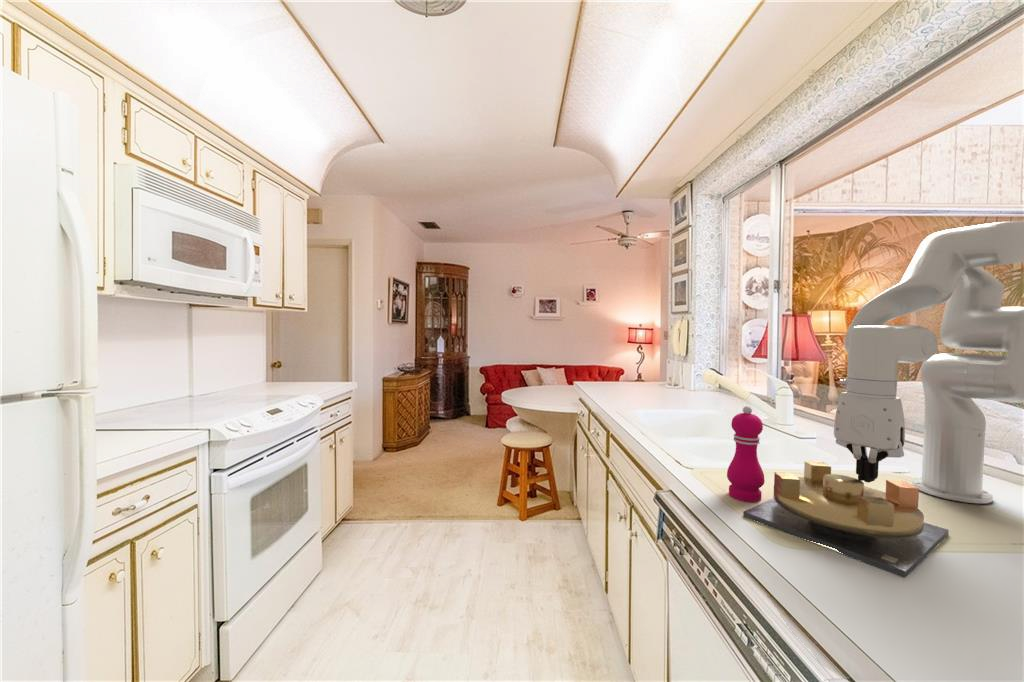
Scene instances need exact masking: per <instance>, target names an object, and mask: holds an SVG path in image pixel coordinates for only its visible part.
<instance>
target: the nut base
mask: <svg viewBox="0 0 1024 682" xmlns="http://www.w3.org/2000/svg"><path fill="white" fill-rule="evenodd" d="M742 513H743V517H744V518H746V519H749V520H751V519H752V520H751V521H754V520H755V521H754V522H757V521H758V522H757V523H759V522H760V523H759V524H762V523H763V524H762V525H764V526H767V525H768V526H767V527H770V528H772V527H773V529H775V530H778V531H780V530H781V531H780V532H783V531H784V533H785V534H788V533H789V534H788V535H790V536H793V535H794V536H793V537H796V536H797V537H796V538H799V537H800V538H799V539H801V538H803V539H802V540H804V539H806V540H805V541H807V540H809V541H813V542H816V543H820V544H823V545H826V546H829V547H832V548H835V549H837V550H838V551H839V552H841V553H843V554H845V555H844V556H846V555H848V556H847V557H849V556H850V557H849V558H851V557H853V558H852V559H854V558H855V559H854V560H856V559H857V560H856V561H859V560H860V561H859V562H862V563H865V564H867V565H870V566H873V567H874V568H878V569H880V570H882V571H885V572H889V573H891V574H893V575H896V576H899V577H901V578H904V579H905V578H907V577H908V576H909V575H910V574H911V573H912V572H913V571H914V570H916V568H917V567H918V566H919V565H920V564H921V563H922V562H923V561H925V559H926V558H927V557H928V556H929V555H930V554H931V553H932V552H933V551H934V550H935V549H936V548H937V547H938V546H939V545H940V544H941V543H942V542H943V541H944V540H945V539H946V538H947V537H948V536H949V529H947V528H945V527H944V528H943V527H940V526H938V525H933V524H930V523H926V522H924V528H923V532H922V533H921V534H919V535H917V536H913V537H908V538H882V537H873V536H866V535H859V534H854V533H849V532H845V531H841V530H837V529H833V528H830V527H826V526H823V525H820V524H817V523H814V522H811V521H809V520H806V519H804V518H801V517H799V516H797V515H795V514H793V513H791V512H789V511H787V510H786V509H784V508H783V507H781V506H780V505H779V504H778V503H777V502H776V501H775V499H774V497H773V498H771V499H768V500H766V501H764V502H762V503H759V504H757V505H754V506H753V507H750V508H748V509H746V510H744V511H743V512H742ZM944 538H945V539H944ZM943 539H944V540H943ZM942 540H943V541H942ZM809 541H808V542H809ZM941 541H942V542H941ZM940 542H941V543H940ZM939 543H940V544H939ZM938 544H939V545H938ZM937 545H938V546H937ZM936 546H937V547H936ZM935 547H936V548H935ZM934 548H935V549H934ZM933 549H934V550H933ZM932 550H933V551H932ZM931 551H932V552H931ZM930 552H931V553H930ZM841 553H840V554H841ZM929 553H930V554H929ZM843 554H842V555H843ZM928 554H929V555H928ZM927 555H928V556H927Z"/></svg>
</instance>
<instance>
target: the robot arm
mask: <svg viewBox="0 0 1024 682" xmlns="http://www.w3.org/2000/svg"><path fill="white" fill-rule="evenodd" d="M1020 263H1024V220H1015V221H1001V222H1000V221H999V222H991V223H990V222H989V223H983V224H977V225H970V226H963V227H957V228H951V229H950V228H949V229H945V230H941V231H937V232H933V233H932V234H930V235H928V236H926V238H925V239H923V241H922V242H921V243H920V244H919V247H918V248H917V250H916V252H915V254H914V256H913V258H912V260H911V262H910V263H909V265H908V266H907V269H906V270H905V272H904V274H903V276H902V278H901V280H900V281H899V283H897V284H896V285H893V286H892V287H890V288H888V289H885V290H884V291H883V292H881V293H879V294H878V295H876V296H875V297H873V298H871V300H869V301H868V302H866V303H864V305H863V306H862V307H860V308H859V309H858V311H857V313H856V314H855V316H854V317H853V318H852V321H851V323H850V324H849V327H848V328H847V331H846V333H845V336H844V342H843V343H844V348H845V351H846V353H847V369H846V371H847V372H846V377H845V378H844V379H843V378H841V379H840V380H838V384H839V386H840V387H841V386H842V387H845V388H844V389H845V391H842V392H841V393H840V394H839V395H840V396H839V398H838V403H837V406H836V411H835V415H834V424H833V425H834V426H833V436H834V438H835V444H837V445H838V446H842V447H843V448H846V449H847V450H848V451H850V453H851V454H852V455H853V458H854V459H855V460H856V463H855V465H856V466H855V474H856V475H857V479H858V480H860V481H862V482H863V481H864V482H865V483H869V484H870V483H871V482H874V481H876V479H878V477H879V462H881V461H883V460H885V459H887V458H899V459H900V458H902V457H903V458H904V457H905V453H904V448H903V447H904V445H905V442H906V441H905V440H906V427H905V425H906V424H905V415H904V408H903V404H902V400H901V397H898V396H897V389H898V374H899V373H898V370H899V363H902V364H903V363H904V364H918V363H919V364H920V363H922V364H921V367H920V379H921V383H922V388H923V396H924V421H923V425H924V426H923V442H922V443H923V444H922V461H921V464H922V465H921V477H916V478H914V479H912V484H911V485H913V486H915V487H917V488H919V492H920V491H921V492H923V493H925V494H928V495H930V496H934V497H937V498H941V499H945V500H950V501H951V500H952V501H956V502H959V503H967V504H979V505H980V504H989V503H992V502H993V494H992V493H990V492H988V491H987V490H984V489H983V484H984V483H983V479H984V459H985V445H986V444H985V443H986V425H987V424H986V423H987V421H986V417H985V415H984V413H983V411H982V410H981V408H980V407H979V406H978V405H977V404H976V402H975V401H974V399H978V400H979V399H980V400H987V401H995V402H1003V403H1004V402H1006V403H1015V404H1016V403H1017V404H1019V403H1021V404H1022V403H1024V306H1002V304H1003V303H1002V302H1003V298H1004V293H1005V289H1004V286H1003V284H1002V283H1001V282H1000V280H999V279H998V278H996V277H995V275H993V274H991V273H990V272H989V271H987V270H986V269H984V268H983V267H990V266H1000V265H1010V264H1011V265H1012V264H1020ZM943 303H946V304H945V307H944V312H943V316H942V320H941V325H940V329H939V338H940V341H941V343H942V344H943V345H944V346H946V347H948V348H952V349H956V350H966V351H970V350H971V351H987V352H988V351H989V352H991V351H992V352H1006V355H996V354H995V355H994V354H992V355H990V354H979V353H977V354H976V353H958V352H957V353H956V352H949V353H948V352H943V353H938V354H936V353H937V350H938V348H939V342H938V338H937V336H936V334H935V333H934V332H933V331H932V330H931V329H929V328H927V327H924V326H921V325H914V324H913V325H911V324H906V325H905V324H887V323H889V322H891V321H893V320H894V319H897V318H900V317H902V316H903V317H904V316H906V315H909V314H913V313H916V312H919V311H923V310H926V309H929V308H932V307H936V306H938V305H940V304H943ZM867 448H870V449H869V453H868V452H867V451H868V450H867Z"/></svg>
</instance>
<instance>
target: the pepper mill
mask: <svg viewBox="0 0 1024 682" xmlns="http://www.w3.org/2000/svg"><path fill="white" fill-rule="evenodd" d="M752 412H753V409H752V407H751V406H748V405H745V406H744V407H743V408H742V412H741V413H738V414H735V415H734V416H733V417H732V419H731V426H730V427H731V429H732V430H733V431H734V433H733V441H734V442H735V452H734V455H733V458H732V460H731V462H730V463H729V465H728V468H727V469H726V470H727V472H726V478H727V480H728V481H729V483H731V484H730V485H728V495H729V497H731V498H733V499H735V500H737V501H741V502H745V503H746V502H747V503H758V502H760V501H762V495H763V493H762V490H761V488H762V487H763V486H764V485H765V474H764V471H763V469H762V466H761V464H760V461H759V458H758V452H757V451H758V445H760V444H761V443H760V439H761V438H760V436H759V435H761V433H762V432H763V429H764V426H763V424H764V423H763V421H762V419H761V418H760V417H759V416H758V415H755V414H754V413H752Z"/></svg>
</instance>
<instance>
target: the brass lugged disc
mask: <svg viewBox="0 0 1024 682" xmlns="http://www.w3.org/2000/svg"><path fill="white" fill-rule="evenodd" d="M803 467H804V469H803V471H804V472H803V476H799V477H798V476H796V475H794V474H793V473H792V472H779V471H778V472H777V471H774V473H773V474H774V479H773V480H774V481H773V483H774V484H773V496H772V497H773V498H774V499H775V501H776V502H777V503H778V504H779V505H780V506H781V507H783V508H784V509H786V510H787V511H789V512H791V513H793V514H795V515H797V516H799V517H801V518H804V519H806V520H809V521H811V522H814V523H817V524H820V525H823V526H826V527H830V528H833V529H837V530H841V531H845V532H849V533H854V534H859V535H866V536H873V537H882V538H908V537H913V536H917V535H919V534H921V533H922V532H923V528H924V523H925V518H924V517H925V515H924V513H923V512H922V511H921V509H919V497H920V490H919V488H917V487H915V486H913V485H912V484H911V483H909V482H908V481H905V480H894V479H892V480H891V479H886V480H885V491H881V490H878V489H876V488H873V487H869V486H866V485H865V483H864V482H863V481H860V480H858V478H855V477H851V476H848V475H842V474H837V473H836V474H832V466H831V465H829V464H827V463H826V462H824V461H817V460H816V461H812V460H804V466H803Z"/></svg>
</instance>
